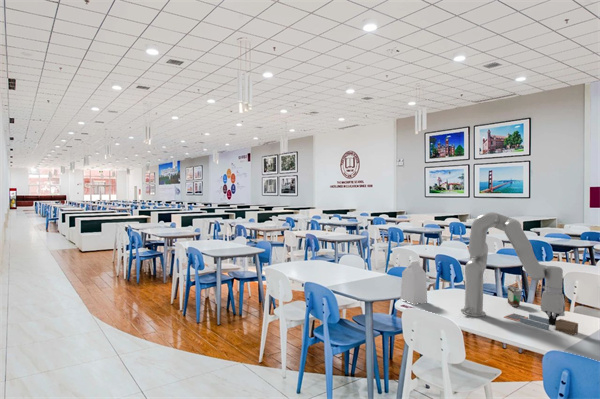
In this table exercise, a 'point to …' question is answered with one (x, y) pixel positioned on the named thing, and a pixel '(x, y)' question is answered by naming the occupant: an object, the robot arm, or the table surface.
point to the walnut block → (566, 326)
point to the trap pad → (514, 317)
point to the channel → (535, 323)
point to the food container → (514, 296)
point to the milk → (414, 284)
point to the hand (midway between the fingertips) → (552, 324)
